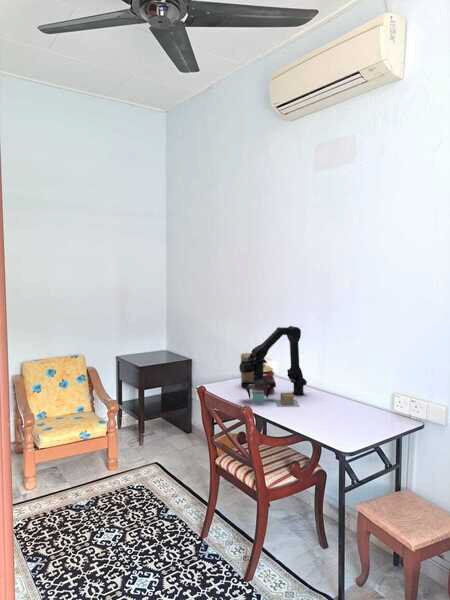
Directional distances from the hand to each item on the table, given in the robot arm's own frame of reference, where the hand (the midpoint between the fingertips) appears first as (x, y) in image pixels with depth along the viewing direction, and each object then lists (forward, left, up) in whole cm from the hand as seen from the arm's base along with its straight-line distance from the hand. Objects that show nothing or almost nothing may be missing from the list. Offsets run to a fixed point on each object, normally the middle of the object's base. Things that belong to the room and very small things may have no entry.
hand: (258, 398), depth 242 cm
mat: (+6, +15, -1) cm, 16 cm away
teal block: (0, 0, -1) cm, 1 cm away
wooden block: (-28, -3, -1) cm, 28 cm away
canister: (-15, +4, -1) cm, 16 cm away
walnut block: (+6, +15, -1) cm, 16 cm away
